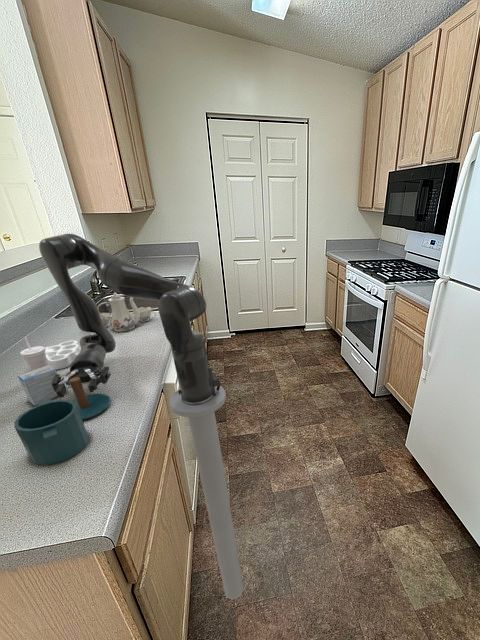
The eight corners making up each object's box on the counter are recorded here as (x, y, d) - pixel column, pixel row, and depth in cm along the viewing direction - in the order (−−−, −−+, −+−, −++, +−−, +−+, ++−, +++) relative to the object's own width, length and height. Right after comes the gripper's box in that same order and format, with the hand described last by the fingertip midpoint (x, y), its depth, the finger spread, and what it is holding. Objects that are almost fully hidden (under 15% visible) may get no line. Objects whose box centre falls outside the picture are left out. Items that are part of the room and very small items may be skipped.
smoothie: (39, 372, 111) (22, 334, 105) (59, 371, 112) (44, 333, 105) (27, 382, 105) (9, 342, 99) (48, 381, 106) (31, 341, 100)
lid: (106, 392, 99) (96, 363, 95) (115, 411, 91) (105, 380, 86) (57, 407, 93) (44, 377, 88) (61, 429, 84) (48, 397, 80)
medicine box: (58, 389, 101) (48, 364, 97) (65, 393, 99) (55, 368, 95) (28, 401, 96) (16, 375, 92) (34, 406, 93) (22, 380, 89)
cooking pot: (83, 420, 87) (71, 390, 83) (94, 455, 75) (81, 422, 71) (30, 438, 81) (14, 406, 77) (33, 480, 69) (14, 445, 65)
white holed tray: (46, 351, 126) (89, 346, 130) (28, 373, 111) (78, 366, 115) (43, 343, 124) (87, 338, 128) (24, 364, 109) (75, 357, 113)
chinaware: (154, 318, 162) (146, 284, 156) (161, 325, 149) (152, 288, 143) (89, 330, 150) (77, 293, 143) (89, 339, 136) (76, 299, 130)
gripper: (56, 357, 97) (37, 385, 83) (111, 349, 101) (102, 374, 87) (65, 379, 100) (48, 409, 86) (117, 371, 104) (110, 398, 90)
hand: (75, 392), depth 87 cm, fingers open, 6 cm apart
